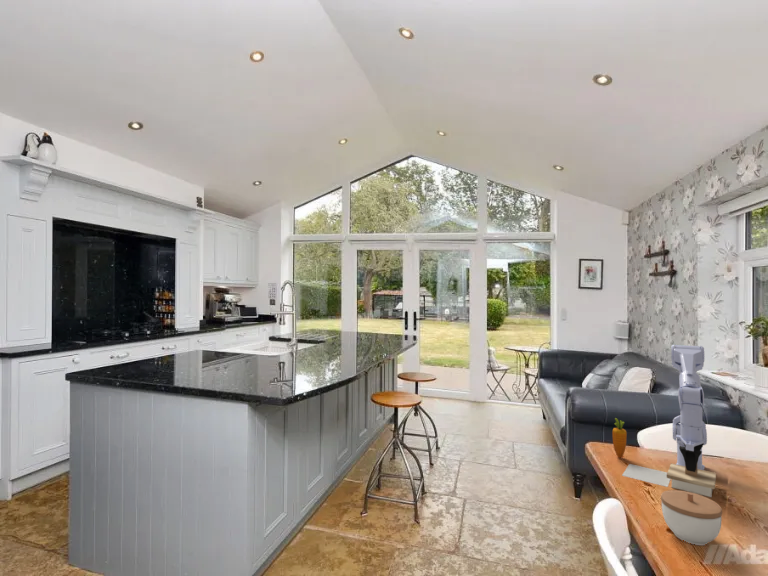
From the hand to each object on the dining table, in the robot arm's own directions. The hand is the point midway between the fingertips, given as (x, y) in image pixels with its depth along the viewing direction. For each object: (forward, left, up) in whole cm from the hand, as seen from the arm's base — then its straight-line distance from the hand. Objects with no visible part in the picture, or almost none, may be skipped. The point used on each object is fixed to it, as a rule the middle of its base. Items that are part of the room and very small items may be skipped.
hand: (692, 467), depth 132 cm
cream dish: (0, 0, -7) cm, 7 cm away
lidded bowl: (+34, +2, -7) cm, 35 cm away
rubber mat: (-1, -12, -7) cm, 14 cm away
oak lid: (0, 0, -3) cm, 3 cm away
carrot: (-12, -23, -7) cm, 27 cm away
